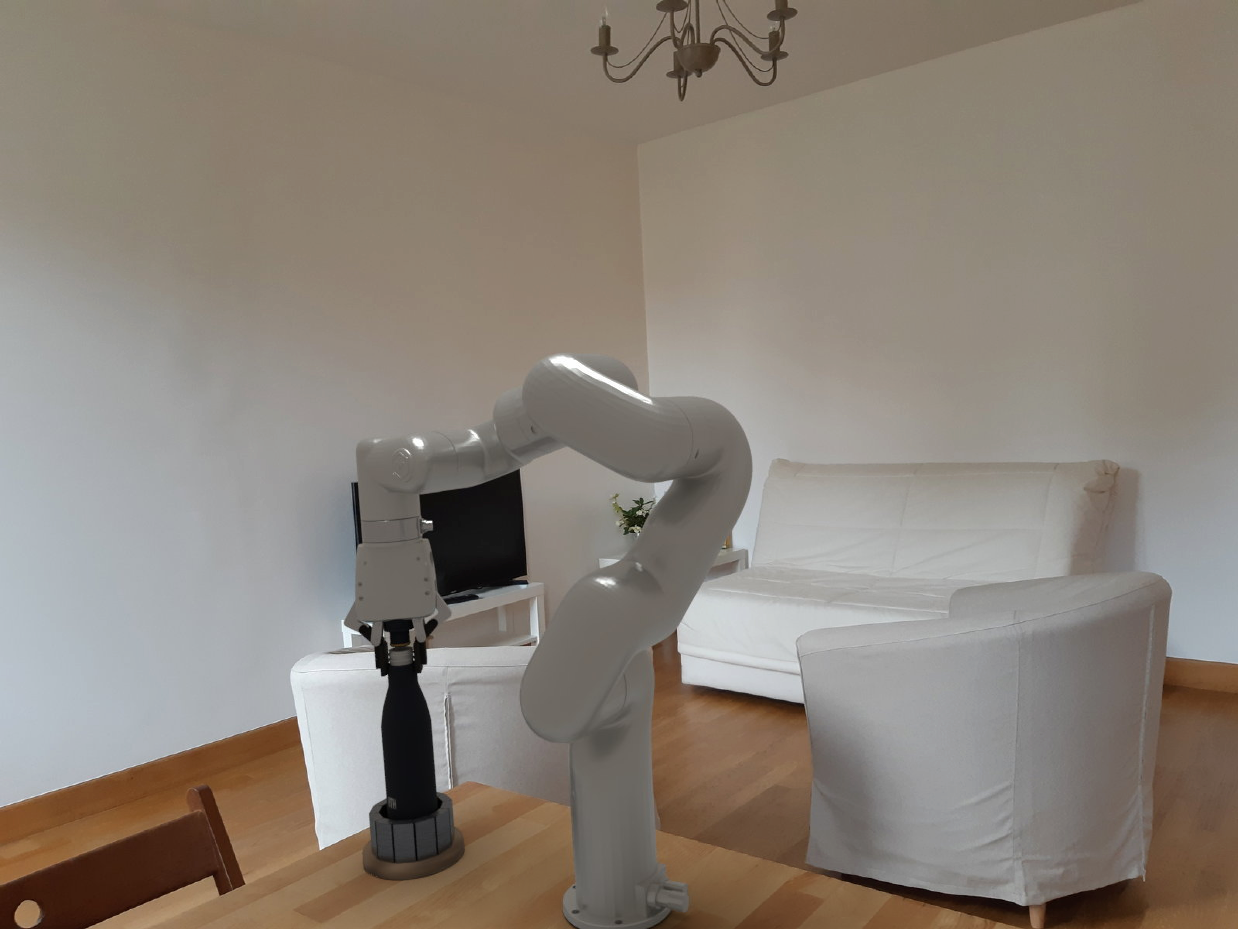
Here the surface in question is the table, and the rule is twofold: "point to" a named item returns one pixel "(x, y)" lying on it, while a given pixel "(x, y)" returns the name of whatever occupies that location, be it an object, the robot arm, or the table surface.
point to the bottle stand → (412, 843)
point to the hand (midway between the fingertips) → (402, 670)
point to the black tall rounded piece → (406, 733)
